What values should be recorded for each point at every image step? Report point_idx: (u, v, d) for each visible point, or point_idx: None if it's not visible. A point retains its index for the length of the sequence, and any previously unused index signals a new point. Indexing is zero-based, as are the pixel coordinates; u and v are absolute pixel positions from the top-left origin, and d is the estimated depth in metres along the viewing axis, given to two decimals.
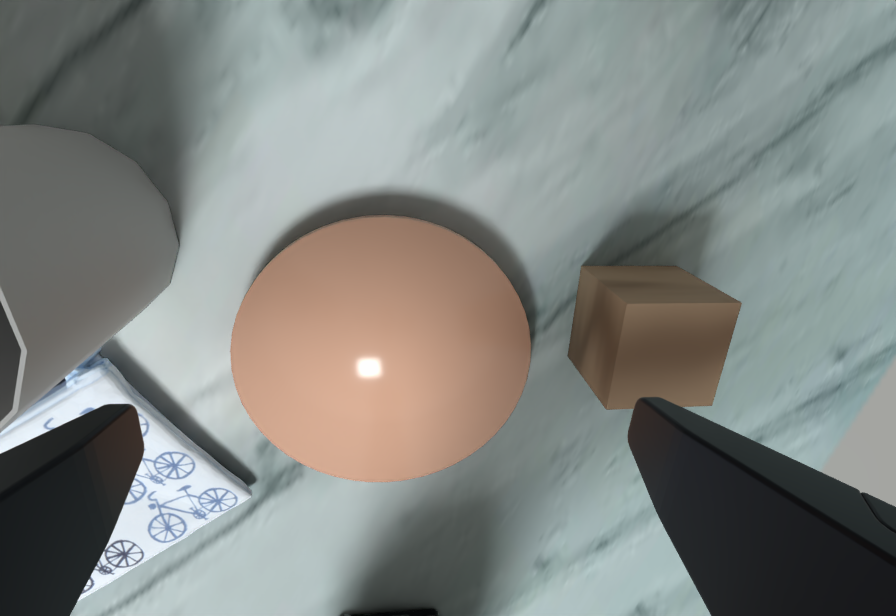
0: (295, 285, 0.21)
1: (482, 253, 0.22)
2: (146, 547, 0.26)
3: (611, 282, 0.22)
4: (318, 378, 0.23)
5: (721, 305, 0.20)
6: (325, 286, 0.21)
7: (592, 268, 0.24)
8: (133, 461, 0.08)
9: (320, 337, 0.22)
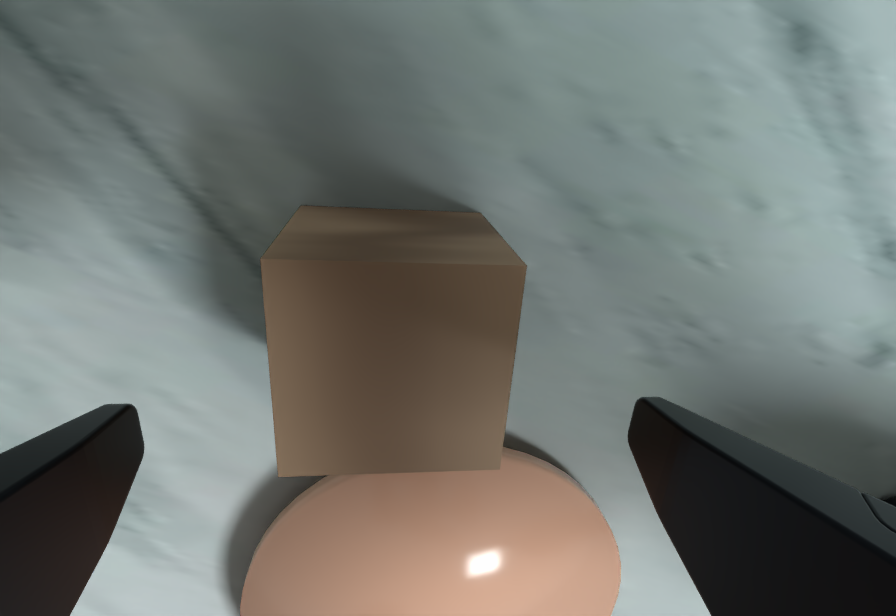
0: None
1: (277, 531, 0.16)
2: None
3: None
4: None
5: (269, 304, 0.09)
6: None
7: None
8: (133, 461, 0.08)
9: None
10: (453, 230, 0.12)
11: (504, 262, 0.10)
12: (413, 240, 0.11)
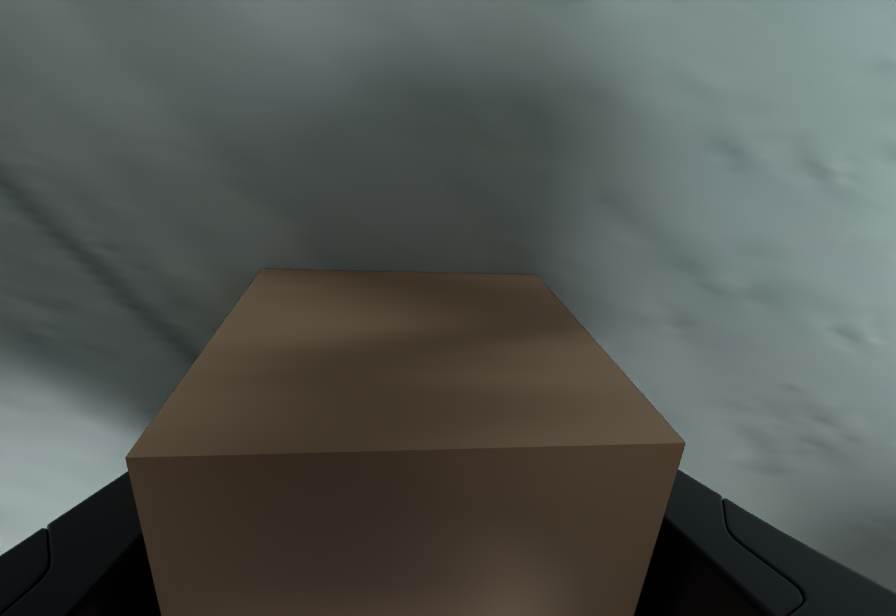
0: None
1: None
2: None
3: None
4: None
5: (155, 537, 0.04)
6: None
7: None
8: None
9: None
10: (509, 325, 0.07)
11: (637, 432, 0.05)
12: (447, 361, 0.06)
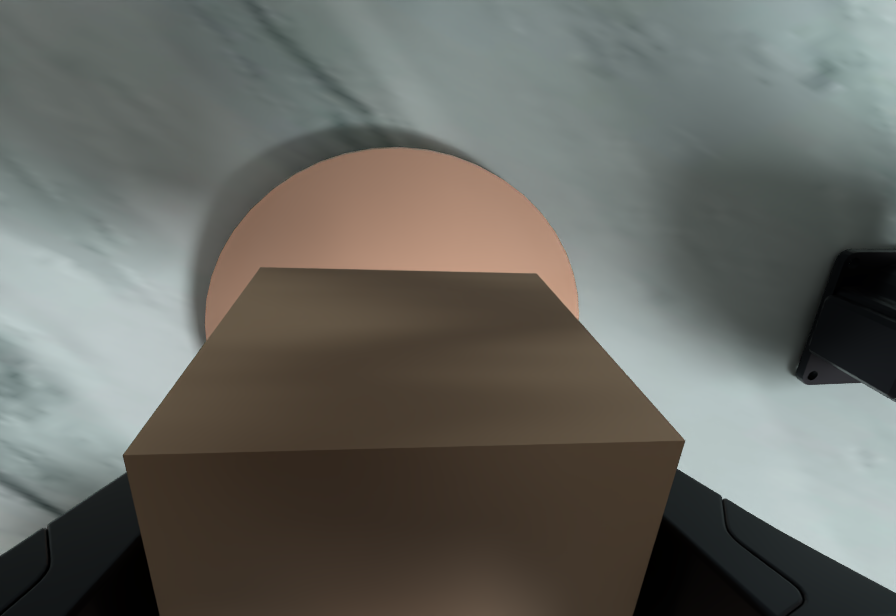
0: None
1: (235, 231, 0.16)
2: None
3: None
4: None
5: (153, 535, 0.04)
6: None
7: None
8: None
9: None
10: (509, 323, 0.07)
11: (636, 430, 0.05)
12: (446, 359, 0.06)
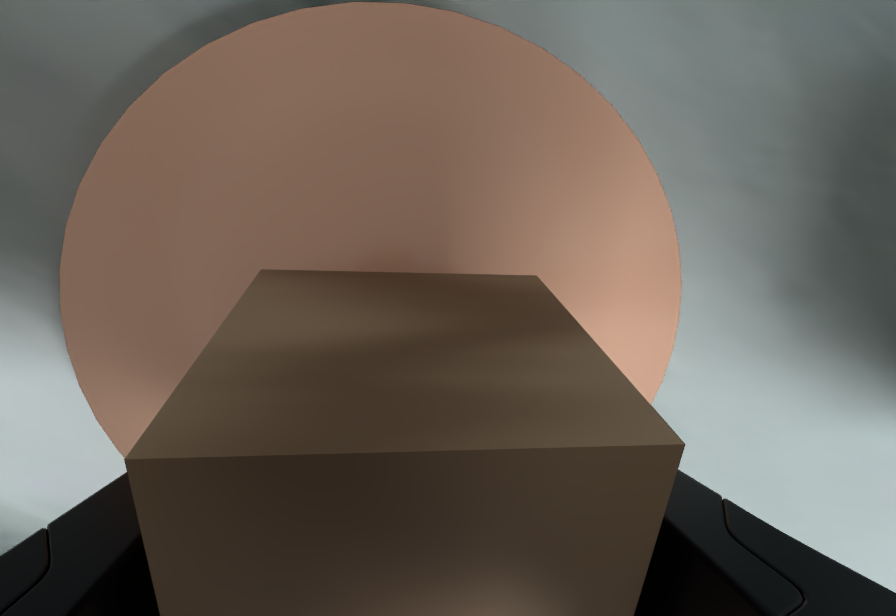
0: None
1: (103, 145, 0.09)
2: None
3: None
4: None
5: (154, 539, 0.04)
6: None
7: None
8: None
9: None
10: (509, 326, 0.07)
11: (636, 433, 0.05)
12: (446, 362, 0.06)
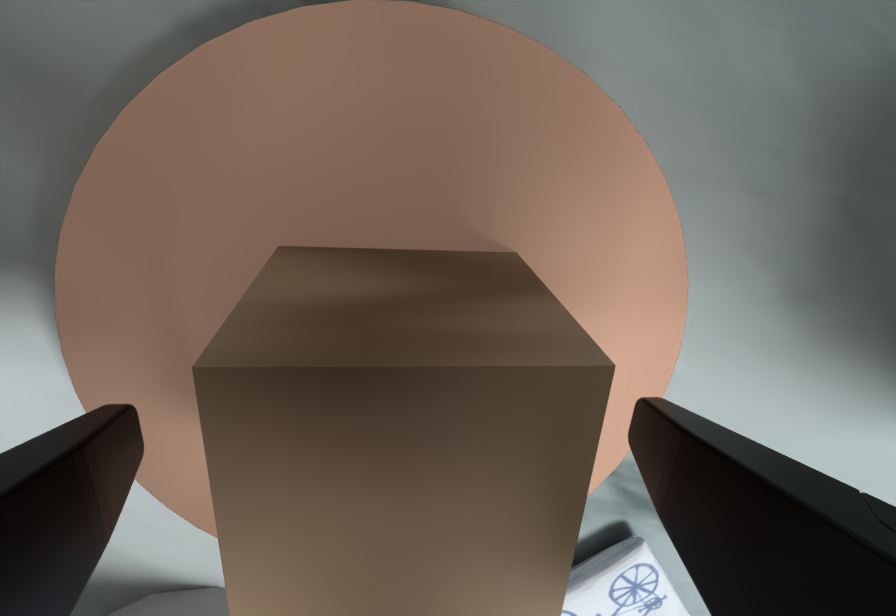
0: None
1: (99, 146, 0.09)
2: None
3: None
4: None
5: (210, 432, 0.06)
6: None
7: None
8: (133, 461, 0.08)
9: None
10: (488, 288, 0.08)
11: (579, 358, 0.06)
12: (434, 312, 0.07)
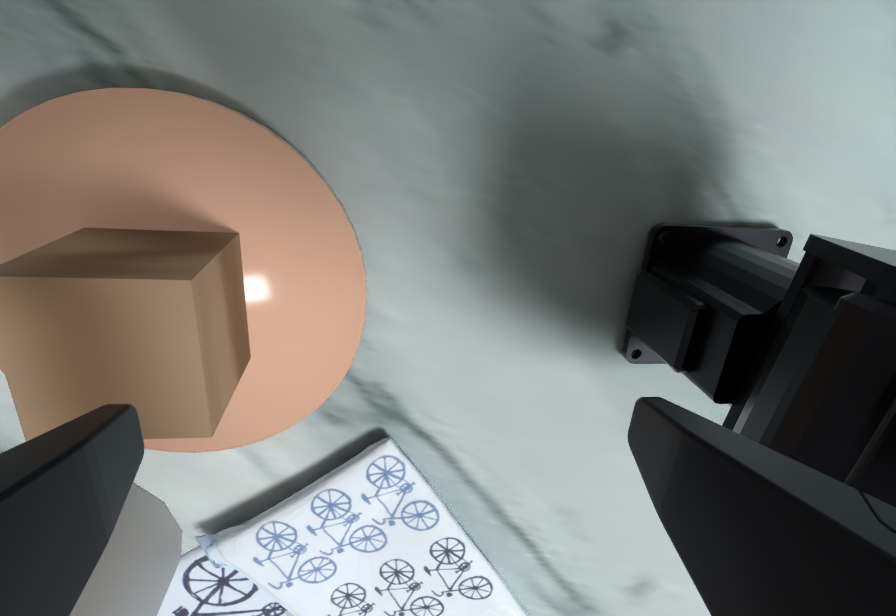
0: None
1: None
2: (442, 534, 0.25)
3: None
4: None
5: None
6: None
7: None
8: (133, 461, 0.08)
9: None
10: (183, 250, 0.15)
11: (176, 277, 0.13)
12: (130, 259, 0.14)
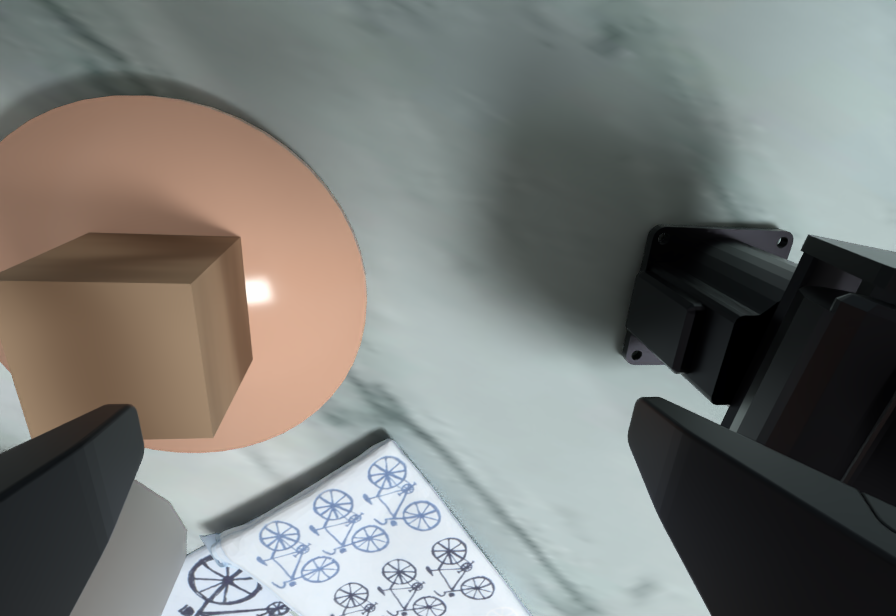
0: None
1: None
2: (443, 535, 0.25)
3: None
4: None
5: None
6: None
7: None
8: (133, 461, 0.08)
9: None
10: (184, 254, 0.15)
11: (177, 281, 0.13)
12: (133, 263, 0.14)
